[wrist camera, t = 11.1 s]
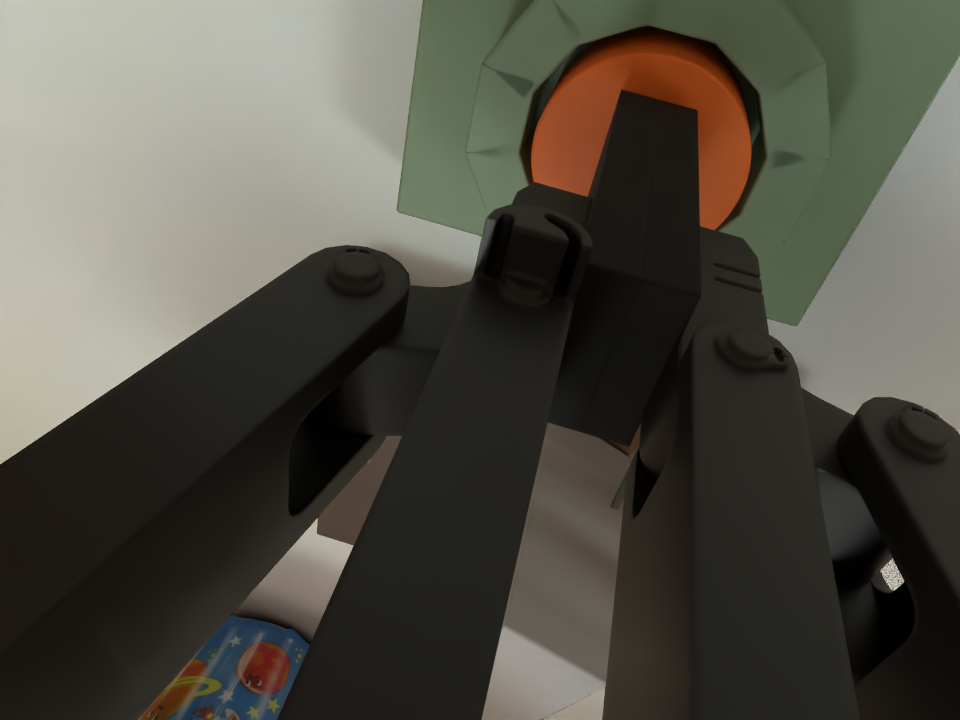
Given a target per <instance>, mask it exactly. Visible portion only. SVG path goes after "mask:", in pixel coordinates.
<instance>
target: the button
mask: <svg viewBox="0 0 960 720" xmlns="http://www.w3.org/2000/svg"><path fill="white" fill-rule="evenodd" d="M621 89H622V90H626V91H629V92H633V93H637V94H640V95H644V96H648V97H651V98H655V99H659V100H662V101H666V102H670V103H673V104H677V105H681V106H684V107H688V108H692V109H695V110H698V152H699V203H700V226H702V227H705V228H709V229H712V230H715V229H716V228H718V227H719V225H720V224H721V223H722V222H723V221H724V220H725V219H726V218H727V217H728V216H729V214H730V213H731V211H732V210H733V209H734V207H735V206H736V204H737V202H738V200H739V199H740V197H741V195H742V193H743V190H744V188H745V185H746V183H747V179H748V175H749V171H750V166H751V155H752V150H751V137H750V131H749V125H748V119H747V113H746V108H745V102H744V98H743V93H742V90H741V87H740V85H739V82H738V80H737V78H736V76H735V74H734V72H733V70H732V69H731V67H730V66H729V65H728V63H727V62H726V61H725V59H724V58H723V57H722V56H721V55H720V54H719V53H718V52H717V51H716V50H715V49H714V48H712V47H711V46H709V45H708V44H707V43H705V42H704V41H703V40H701V39H697V38H693V37H690V36H686V35H682V34H678V33H675V32H671V31H667V30H663V29H660V28H656V27H652V26H647V27H639V28H636V29H632V30H629V31H626V32H622V33H619V34H615V35H612V36H609V37H605V38H602V39H600V40H598V41H596V42H595V43H593V44H592V45H590V46H589V47H588V48H586V49H585V50H583V51H582V52H581V53H580V54H579V55H578V56H577V57H576V58H575V59H574V60H573V61H572V62H571V63H570V64H569V65H568V67H567V68H566V69H565V70H564V72H563V73H562V75H561V77H560V78H559V80H558V81H557V83H556V85H555V88H554V90H553V92H552V94H551V96H550V98H549V100H548V103H547V105H546V107H545V109H544V111H543V113H542V115H541V118H540V120H539V122H538V125H537V128H536V131H535V134H534V138H533V144H532V151H531V167H532V176H533V181H534V182H537V183H540V184H544V185H547V186H551V187H555V188H558V189H562V190H565V191H569V192H572V193H576V194H579V195H583V196H587V197H588V194H589V191H590V187H591V184H592V181H593V178H594V175H595V171H596V168H597V165H598V162H599V159H600V156H601V152H602V149H603V146H604V143H605V140H606V137H607V133H608V130H609V127H610V124H611V121H612V117H613V114H614V111H615V108H616V105H617V102H618V98H619V95H620V92H621Z"/></svg>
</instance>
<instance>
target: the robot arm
mask: <svg viewBox="0 0 960 720" xmlns="http://www.w3.org/2000/svg"><path fill="white" fill-rule="evenodd" d="M759 278H760V268H759V261H758V257H757V256H756V254H755V253H754V252H753V250H752V249H751V248H750V246H749V245H748V244H747V242H746V241H745V240H744V239H743V238H741V237H737V236H734V235H730V234H726V233H723V232H719V231H716V230H712V229H709V228H705V227H702V226H700V203H699V152H698V110H695V109H692V108H688V107H684V106H681V105H677V104H673V103H670V102H666V101H662V100H659V99H655V98H651V97H648V96H644V95H640V94H637V93H633V92H629V91H626V90H622V89H621V92H620V95H619V98H618V102H617V105H616V108H615V111H614V114H613V117H612V121H611V124H610V127H609V130H608V133H607V137H606V140H605V143H604V146H603V149H602V152H601V156H600V159H599V162H598V165H597V168H596V171H595V175H594V178H593V181H592V184H591V187H590V191H589V194H588V197H587V196H583V195H579V194H576V193H572V192H569V191H565V190H562V189H558V188H555V187H551V186H547V185H544V184H540V183H537V182H534V183H532V184H530V185H528V186H527V187H525V188H523V189H521V190H520V191H518V192H517V193H516V196H515V198H514V200H513V202H512V205H507V206H504V207H501V208H497V209H494V210H493V211H492V212H491V213H490V214H489V215H488V216H487V217H486V221H485V225H484V230H483V234H482V239H481V244H480V248H479V253H478V257H477V262H476V267H475V271H474V275H473V277H472V280H471V281H469V282H466V283H463V284H461V285H457V286H450V287H422V286H410V281H409V273H408V272H407V271H406V269H405V268H404V267H403V265H402V264H401V263H400V262H399V261H397V260H396V259H394V258H392V257H391V256H389V255H388V254H386V253H384V252H380V251H377V250H374V249H371V248H368V247H362V246H350V245H344V246H336V247H329V248H325V249H323V250H320V251H318V252H316V253H313V254H311V255H310V256H308V257H307V258H305V259H304V260H302V261H301V262H299V263H298V264H296V265H295V266H293V267H292V268H290V269H289V270H287V271H286V272H284V273H283V274H281V275H280V276H279V277H277V278H276V279H274V280H273V281H271V282H270V283H268V284H267V285H265V286H264V287H262V288H261V289H259V290H258V291H256V292H255V293H253V294H252V295H250V296H249V297H247V298H246V299H244V300H243V301H242V302H240V303H239V304H237V305H236V306H234V307H233V308H231V309H230V310H228V311H227V312H225V313H224V314H222V315H221V316H219V317H218V318H216V319H215V320H213V321H212V322H210V323H209V324H208V325H206V326H205V327H203V328H202V329H200V330H199V331H197V332H196V333H194V334H193V335H191V336H190V337H188V338H187V339H185V340H184V341H182V342H181V343H179V344H178V345H176V346H175V347H173V348H172V349H171V350H169V351H168V352H166V353H165V354H163V355H162V356H160V357H159V358H157V359H156V360H154V361H153V362H151V363H150V364H148V365H147V366H145V367H144V368H142V369H141V370H139V371H138V372H137V373H135V374H134V375H132V376H131V377H129V378H128V379H126V380H125V381H123V382H122V383H120V384H119V385H117V386H116V387H114V388H113V389H111V390H110V391H108V392H107V393H105V394H104V395H102V396H101V397H100V398H98V399H97V400H95V401H94V402H92V403H91V404H89V405H88V406H86V407H85V408H83V409H82V410H80V411H79V412H77V413H76V414H74V415H73V416H71V417H70V418H68V419H67V420H66V421H64V422H63V423H61V424H60V425H58V426H57V427H55V428H54V429H52V430H51V431H49V432H48V433H46V434H45V435H43V436H42V437H40V438H39V439H37V440H36V441H34V442H33V443H31V444H30V445H29V446H27V447H26V448H24V449H23V450H21V451H20V452H18V453H17V454H15V455H14V456H12V457H11V458H9V459H8V460H6V461H5V462H3V463H2V464H0V720H138V719H139V718H140V716H141V715H142V714H143V713H144V712H145V711H146V710H147V709H148V707H149V706H150V705H151V704H152V703H153V702H154V701H155V700H156V698H157V697H158V696H159V695H160V694H161V693H162V692H163V691H164V690H165V688H166V687H167V686H168V685H169V684H170V683H171V682H172V681H173V679H174V678H175V677H176V676H177V675H178V674H179V673H180V672H181V670H182V669H183V668H184V667H185V666H186V665H187V664H188V663H189V661H190V660H191V659H192V658H193V657H194V656H195V655H196V654H197V652H198V651H199V650H200V649H201V648H202V647H203V646H204V645H205V644H206V642H207V641H208V640H209V639H210V638H211V637H212V636H213V635H214V633H215V632H216V631H217V630H218V629H219V628H220V627H221V626H222V624H223V623H224V622H225V621H226V620H227V619H228V618H229V617H230V615H231V614H232V613H233V612H234V611H235V610H236V609H237V608H238V606H239V605H240V604H241V603H242V602H243V601H244V600H245V599H246V597H247V596H248V595H249V594H250V593H251V592H252V591H253V590H254V589H255V587H256V586H257V585H258V584H259V583H260V582H261V581H262V580H263V578H264V577H265V576H266V575H267V574H268V573H269V572H270V571H271V569H272V568H273V567H274V566H275V565H276V564H277V563H278V562H279V560H280V559H281V558H282V557H283V556H284V555H285V554H286V553H287V551H288V550H289V549H290V548H291V547H292V546H293V545H294V544H295V543H296V541H297V540H298V539H299V538H300V537H301V536H302V535H303V534H304V532H305V531H306V530H307V529H308V528H309V527H310V526H311V525H312V523H313V522H314V521H315V520H316V519H317V518H318V517H319V516H320V514H321V513H322V512H323V511H324V510H325V509H326V508H327V507H328V505H329V504H330V503H331V502H332V501H333V500H334V499H335V498H336V496H337V495H338V494H339V493H340V492H341V491H342V490H343V489H344V488H345V486H346V485H347V484H348V483H349V482H350V481H351V480H352V479H353V477H354V476H355V475H356V474H357V473H358V472H359V471H360V470H361V468H362V467H363V466H364V465H365V464H366V463H367V462H368V461H369V459H370V458H371V457H372V456H373V455H374V454H375V453H376V452H377V450H378V449H379V448H380V447H381V446H382V444H383V442H384V440H385V438H386V436H402V438H401V440H400V442H399V445H398V447H397V449H396V451H395V454H394V456H393V458H392V460H391V463H390V465H389V467H388V469H387V472H386V474H385V476H384V479H383V481H382V483H381V485H380V488H379V490H378V492H377V494H376V497H375V499H374V501H373V503H372V506H371V508H370V510H369V512H368V515H367V517H366V519H365V521H364V524H363V526H362V528H361V531H360V533H359V535H358V537H357V540H356V542H355V544H354V546H353V549H352V551H351V553H350V555H349V558H348V560H347V562H346V564H345V567H344V569H343V571H342V573H341V576H340V578H339V580H338V583H337V585H336V587H335V589H334V592H333V594H332V596H331V598H330V601H329V603H328V605H327V607H326V610H325V612H324V614H323V616H322V619H321V621H320V623H319V625H318V628H317V630H316V632H315V635H314V637H313V639H312V641H311V644H310V646H309V648H308V650H307V653H306V655H305V657H304V659H303V662H302V664H301V666H300V668H299V671H298V673H297V675H296V677H295V680H294V682H293V684H292V687H291V689H290V691H289V693H288V696H287V698H286V700H285V702H284V705H283V707H282V709H281V711H280V714H279V716H278V718H277V720H482V715H483V711H484V706H485V702H486V697H487V693H488V688H489V684H490V679H491V675H492V670H493V666H494V661H495V657H496V652H497V648H498V643H499V639H500V634H501V630H502V625H503V621H504V616H505V612H506V607H507V603H508V598H509V594H510V589H511V585H512V580H513V576H514V571H515V567H516V562H517V558H518V553H519V549H520V544H521V540H522V535H523V531H524V526H525V522H526V517H527V513H528V509H529V504H530V500H531V495H532V491H533V486H534V482H535V477H536V473H537V468H538V464H539V459H540V455H541V450H542V446H543V441H544V437H545V432H546V428H547V423H551V424H555V425H558V426H561V427H565V428H568V429H571V430H575V431H578V432H581V433H584V434H588V435H591V436H594V437H598V438H601V439H604V440H608V441H611V442H614V443H618V444H621V445H624V446H628V447H630V445H631V443H632V440H633V438H634V436H635V434H636V432H637V430H638V428H639V426H640V424H641V430H640V443H639V447H638V449H637V451H636V453H635V455H634V457H633V459H632V461H631V463H630V465H629V467H628V469H627V472H626V474H625V476H624V478H623V480H622V482H621V484H620V486H619V488H618V490H617V492H616V494H615V496H614V499H613V501H612V504H611V506H610V507H611V508H614V509H617V510H618V508H619V506H620V504H621V502H622V500H623V498H624V505H623V516H622V526H621V536H620V546H619V556H618V566H617V576H616V587H615V597H614V607H613V617H612V627H611V637H610V647H609V657H608V668H607V678H606V688H605V698H604V708H603V718H602V720H960V434H959V433H958V432H957V431H956V430H955V429H954V428H953V427H952V426H950V425H949V424H948V423H946V422H945V421H944V420H942V419H941V418H940V417H939V416H938V415H937V414H935V413H934V412H932V411H930V410H928V409H926V408H925V409H924V408H923V407H922V406H919V405H917V404H914V403H911V402H907V401H904V400H900V399H896V398H892V397H876V398H873V399H871V400H869V401H867V402H865V403H863V404H862V406H861V407H860V408H859V410H858V411H857V412H856V414H855V415H854V416H853V415H851V414H849V413H847V412H845V411H843V410H841V409H839V408H838V407H836V406H834V405H832V404H830V403H828V402H826V401H824V400H822V399H820V398H818V397H816V396H815V395H813V394H811V393H809V392H808V391H806V390H804V389H803V388H802V387H801V385H800V380H799V374H798V368H797V366H796V363H795V361H794V359H793V357H792V355H791V353H790V352H789V351H788V350H787V349H786V348H785V347H784V346H783V345H782V344H781V343H780V342H779V341H778V340H776V339H775V338H773V337H772V336H770V335H769V332H768V325H767V318H766V311H765V304H764V297H763V294H762V291H763V290H762V283H761V279H759ZM892 558H893V560H894V562H895V564H896V566H897V567H898V569H899V571H900V573H901V575H902V577H903V579H904V581H905V582H904V583H903V584H902V585H901V586H900V587H899V588H898V589H896V590H895V591H892V590H891V589H890V587H889V586H888V585H887V583H886V582H885V580H884V578H883V576H882V574H881V572H880V570H881V569H882V568H883V567H884V566H885V565H886V564H887V563H888V562H889V561H890V560H891V559H892Z"/></svg>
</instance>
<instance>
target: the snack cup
mask: <svg viewBox="0 0 960 720" xmlns="http://www.w3.org/2000/svg"><path fill="white" fill-rule="evenodd" d="M309 646H310V644H308V643H307V642H306V641H304V640H303V639H302V637H301V636H300V635H299V634H298V633H297V632H296V631H295V630H293V629H285V628H283V627H281V626H279V625H275V624H272V623H269V622H266V621H260V620H257V619H252V618H241V617H238V616H237V615H232V616H230V617H229V618H228V619H227V620H226V621H225V622H224V623H223V624H222V626H221V627H220V628H219V629H218V630H217V631H216V632H215V633H214V635H213V636H212V637H211V638H210V639H209V640H208V641H207V642H206V644H205V645H204V646H203V647H202V648H201V649H200V650H199V651H198V652H197V654H196V655H195V656H194V657H193V658H192V659H191V660H190V661H189V663H188V664H187V665H186V666H185V667H184V668H183V669H182V670H181V672H180V673H179V674H178V675H177V676H176V677H175V678H174V679H173V681H172V682H171V683H170V684H169V685H168V686H167V687H166V688H165V690H164V691H163V692H162V693H161V694H160V695H159V696H158V697H157V698H156V700H155V701H154V702H153V703H152V704H151V705H150V706H149V707H148V709H147V710H146V711H145V712H144V713H143V714H142V715H141V716H140V718H139V719H138V720H277V718H278V716H279V714H280V711H281V709H282V707H283V705H284V702H285V700H286V698H287V696H288V693H289V691H290V689H291V687H292V684H293V682H294V680H295V677H296V675H297V673H298V671H299V668H300V666H301V664H302V662H303V659H304V657H305V655H306V653H307V650H308V648H309Z"/></svg>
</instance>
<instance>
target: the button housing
mask: <svg viewBox="0 0 960 720" xmlns="http://www.w3.org/2000/svg"><path fill="white" fill-rule="evenodd" d="M647 26H652V27H656V28H660V29H663V30H667V31H671V32H675V33H678V34H682V35H686V36H690V37H693V38H697V39H701V40H703V41H704V42H705V43H707V44H708V45H709V46H711V47H712V48H714V49H715V50H716V51H717V52H718V53H719V54H720V55H721V56H722V57H723V58H724V59H725V61H726V62H727V63H728V65H729V66H730V67H731V69H732V70H733V72H734V74H735V76H736V78H737V80H738V82H739V85H740V87H741V90H742V93H743V98H744V102H745V108H746V113H747V119H748V125H749V131H750V137H751V150H752V155H751V166H750V171H749V175H748V179H747V183H746V185H745V188H744V190H743V193H742V195H741V197H740V199H739V200H738V202H737V204H736V206H735V207H734V209H733V210H732V211H731V213H730V214H729V216H728V217H727V218H726V219H725V220H724V221H723V222H722V223H721V224H720V225H719V227H718V228H716V229H715V230H716V231H719V232H723V233H726V234H730V235H734V236H737V237H741V238H743V239H744V240H745V241H746V242H747V244H748V245H749V246H750V248H751V249H752V250H753V252H754V253H755V254H756V256H757V257H758V261H759V268H760V278H759V279H761V283H762V290H763V291H762V294H763V297H764V304H765V311H766V318H767V319H771V320H774V321H778V322H781V323H785V324H788V325H792V326H797V325H798V324H799V322H800V320H801V319H802V317H803V315H804V314H805V312H806V310H807V309H808V307H809V305H810V304H811V302H812V300H813V299H814V297H815V295H816V294H817V292H818V290H819V289H820V287H821V285H822V284H823V282H824V280H825V279H826V277H827V275H828V274H829V272H830V270H831V269H832V267H833V265H834V264H835V262H836V260H837V259H838V257H839V255H840V254H841V252H842V250H843V249H844V247H845V245H846V244H847V242H848V240H849V239H850V237H851V236H852V234H853V232H854V231H855V229H856V227H857V226H858V224H859V222H860V221H861V219H862V217H863V216H864V214H865V212H866V211H867V209H868V207H869V206H870V204H871V202H872V201H873V199H874V197H875V196H876V194H877V192H878V191H879V189H880V187H881V186H882V184H883V182H884V181H885V179H886V177H887V176H888V174H889V172H890V171H891V169H892V167H893V166H894V164H895V162H896V161H897V159H898V157H899V156H900V154H901V152H902V151H903V149H904V147H905V146H906V144H907V142H908V141H909V139H910V137H911V136H912V134H913V132H914V131H915V129H916V127H917V126H918V124H919V122H920V121H921V119H922V117H923V116H924V114H925V113H926V111H927V109H928V108H929V106H930V104H931V103H932V101H933V99H934V98H935V96H936V94H937V93H938V91H939V89H940V88H941V86H942V84H943V83H944V81H945V79H946V78H947V76H948V74H949V73H950V71H951V69H952V68H953V66H954V64H955V63H956V61H957V59H958V58H959V56H960V0H423V5H422V13H421V21H420V29H419V36H418V44H417V52H416V60H415V68H414V76H413V84H412V92H411V100H410V108H409V116H408V124H407V132H406V140H405V148H404V156H403V164H402V172H401V179H400V187H399V195H398V203H397V211H398V212H399V213H403V214H406V215H410V216H413V217H417V218H420V219H424V220H427V221H431V222H434V223H438V224H441V225H445V226H448V227H451V228H455V229H458V230H462V231H465V232H469V233H472V234H476V235H479V236H482V234H483V230H484V225H485V221H486V217H487V216H488V215H489V214H490V213H491V212H492V211H493V210H494V209H497V208H501V207H504V206H507V205H512V202H513V200H514V198H515V196H516V193H517V192H518V191H520V190H521V189H523V188H525V187H527V186H528V185H530V184H532V183H534V181H533V176H532V167H531V151H532V144H533V138H534V134H535V131H536V128H537V125H538V122H539V120H540V118H541V115H542V113H543V111H544V109H545V107H546V105H547V103H548V100H549V98H550V96H551V94H552V92H553V90H554V88H555V85H556V83H557V81H558V80H559V78H560V77H561V75H562V73H563V72H564V70H565V69H566V68H567V67H568V65H569V64H570V63H571V62H572V61H573V60H574V59H575V58H576V57H577V56H578V55H579V54H580V53H581V52H582V51H583V50H585V49H586V48H588V47H589V46H590V45H592V44H593V43H595V42H596V41H598V40H600V39H602V38H605V37H609V36H612V35H615V34H619V33H622V32H626V31H629V30H632V29H636V28H639V27H647Z"/></svg>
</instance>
